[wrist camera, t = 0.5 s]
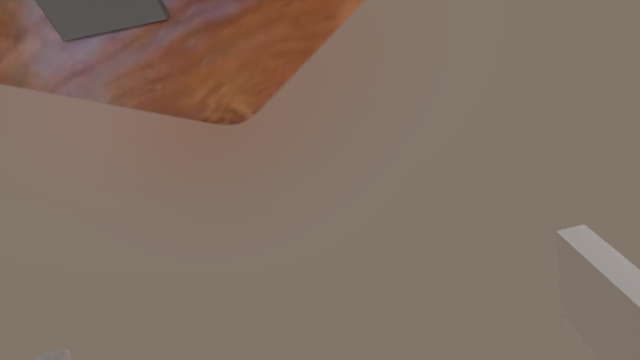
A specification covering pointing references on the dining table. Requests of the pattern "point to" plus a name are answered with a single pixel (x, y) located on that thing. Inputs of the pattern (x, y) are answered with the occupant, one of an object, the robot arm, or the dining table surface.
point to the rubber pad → (100, 15)
